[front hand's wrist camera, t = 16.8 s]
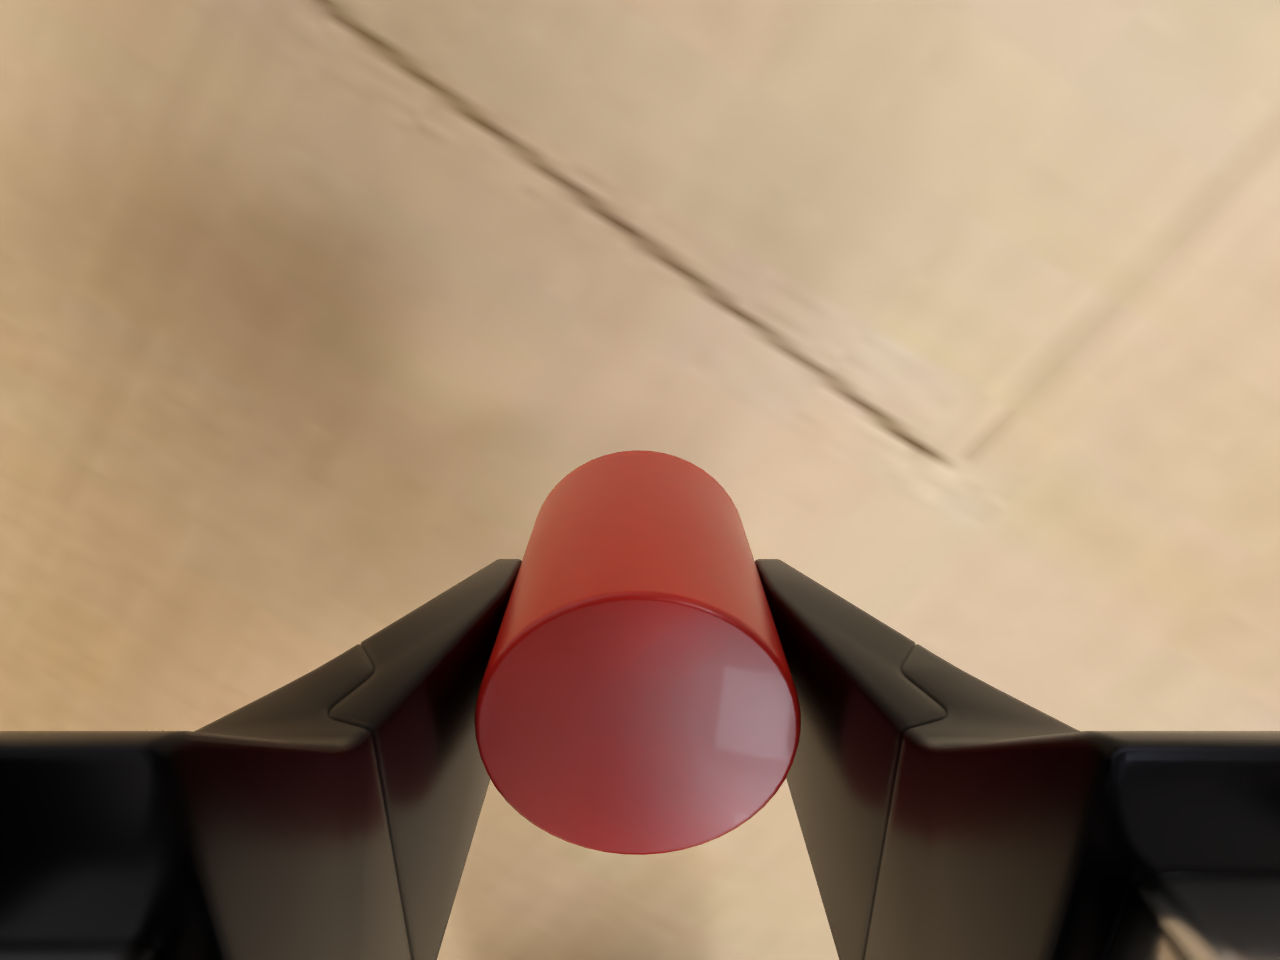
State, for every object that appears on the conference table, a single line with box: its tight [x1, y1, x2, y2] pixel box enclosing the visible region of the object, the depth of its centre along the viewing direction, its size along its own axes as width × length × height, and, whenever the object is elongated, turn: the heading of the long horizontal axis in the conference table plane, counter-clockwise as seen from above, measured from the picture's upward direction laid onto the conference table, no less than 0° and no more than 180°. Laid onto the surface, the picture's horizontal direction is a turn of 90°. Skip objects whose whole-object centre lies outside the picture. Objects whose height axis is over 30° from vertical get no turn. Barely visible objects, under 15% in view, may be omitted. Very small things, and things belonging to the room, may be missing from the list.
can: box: [474, 451, 801, 855], centre depth 10 cm, size 4×4×5 cm
